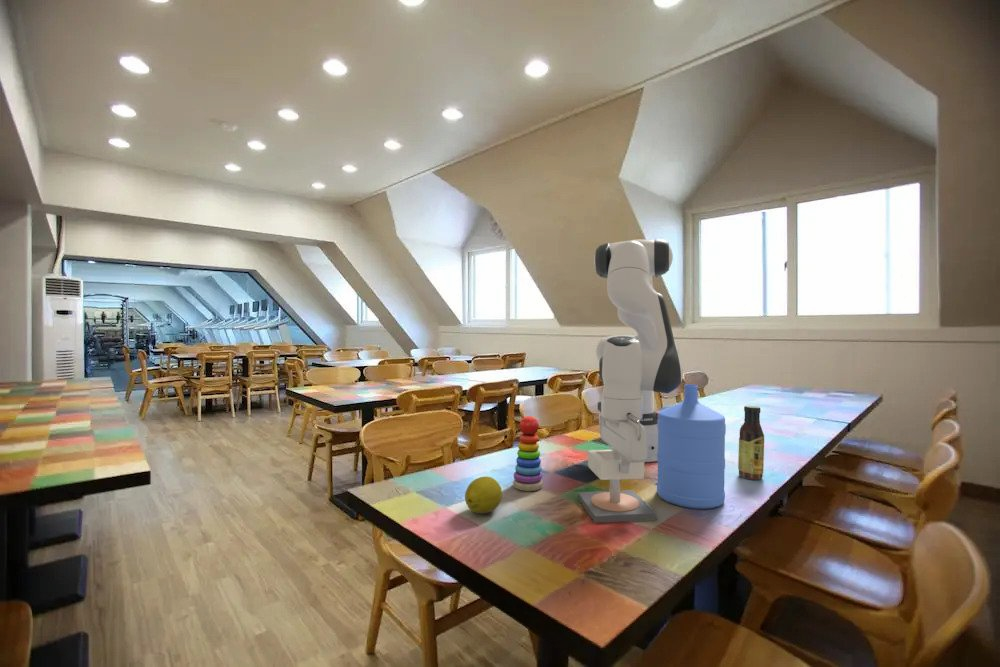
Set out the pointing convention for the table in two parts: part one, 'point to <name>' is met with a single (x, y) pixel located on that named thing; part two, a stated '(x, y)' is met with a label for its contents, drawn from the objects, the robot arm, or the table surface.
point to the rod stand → (616, 505)
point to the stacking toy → (528, 457)
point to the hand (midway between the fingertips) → (621, 470)
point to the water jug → (691, 453)
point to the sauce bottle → (751, 445)
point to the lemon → (483, 495)
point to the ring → (612, 466)
